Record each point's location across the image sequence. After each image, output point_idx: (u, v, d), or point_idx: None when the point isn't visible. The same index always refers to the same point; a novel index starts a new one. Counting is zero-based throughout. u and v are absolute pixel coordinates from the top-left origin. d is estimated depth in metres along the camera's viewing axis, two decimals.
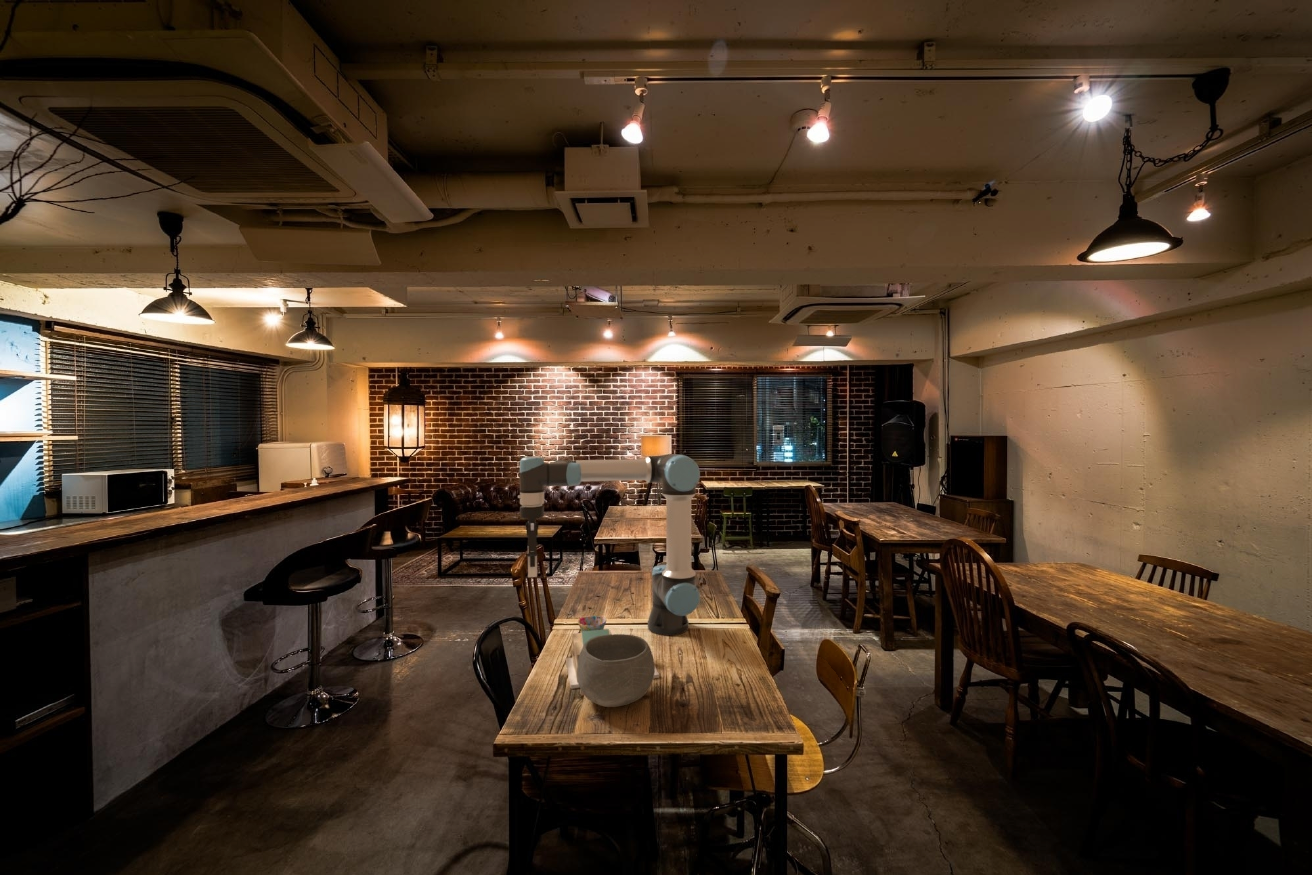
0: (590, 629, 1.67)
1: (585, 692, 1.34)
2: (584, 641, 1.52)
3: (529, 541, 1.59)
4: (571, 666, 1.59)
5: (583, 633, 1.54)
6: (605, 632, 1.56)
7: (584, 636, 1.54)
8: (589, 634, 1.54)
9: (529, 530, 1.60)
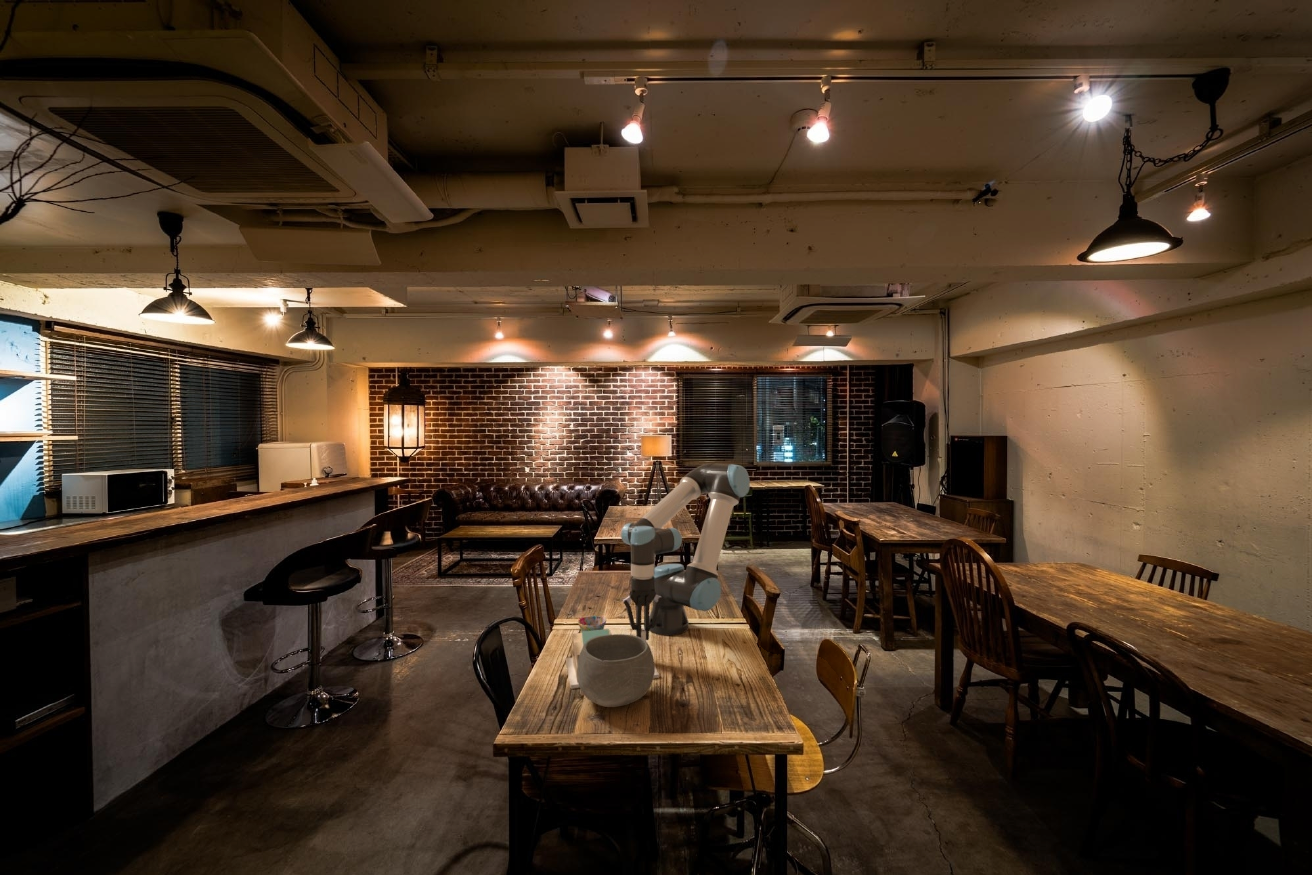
0: (590, 629, 1.67)
1: (585, 692, 1.34)
2: (584, 641, 1.52)
3: (628, 615, 1.64)
4: (571, 666, 1.59)
5: (583, 633, 1.54)
6: (605, 632, 1.56)
7: (584, 636, 1.54)
8: (589, 634, 1.54)
9: None
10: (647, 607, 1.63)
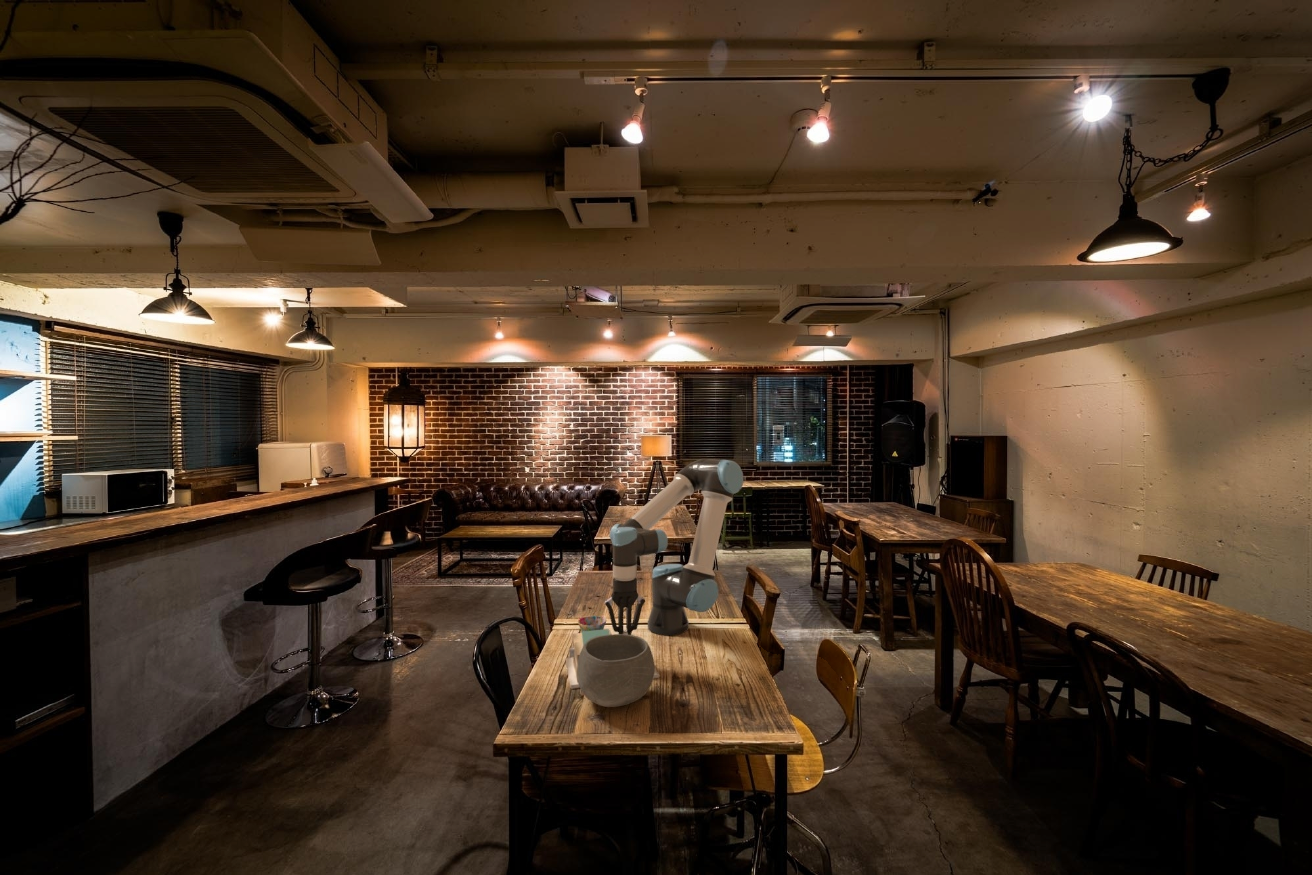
0: (590, 629, 1.67)
1: (585, 692, 1.34)
2: (584, 641, 1.52)
3: (610, 617, 1.63)
4: (571, 666, 1.59)
5: (583, 633, 1.54)
6: (605, 632, 1.56)
7: (584, 636, 1.54)
8: (589, 634, 1.54)
9: None
10: (629, 609, 1.62)
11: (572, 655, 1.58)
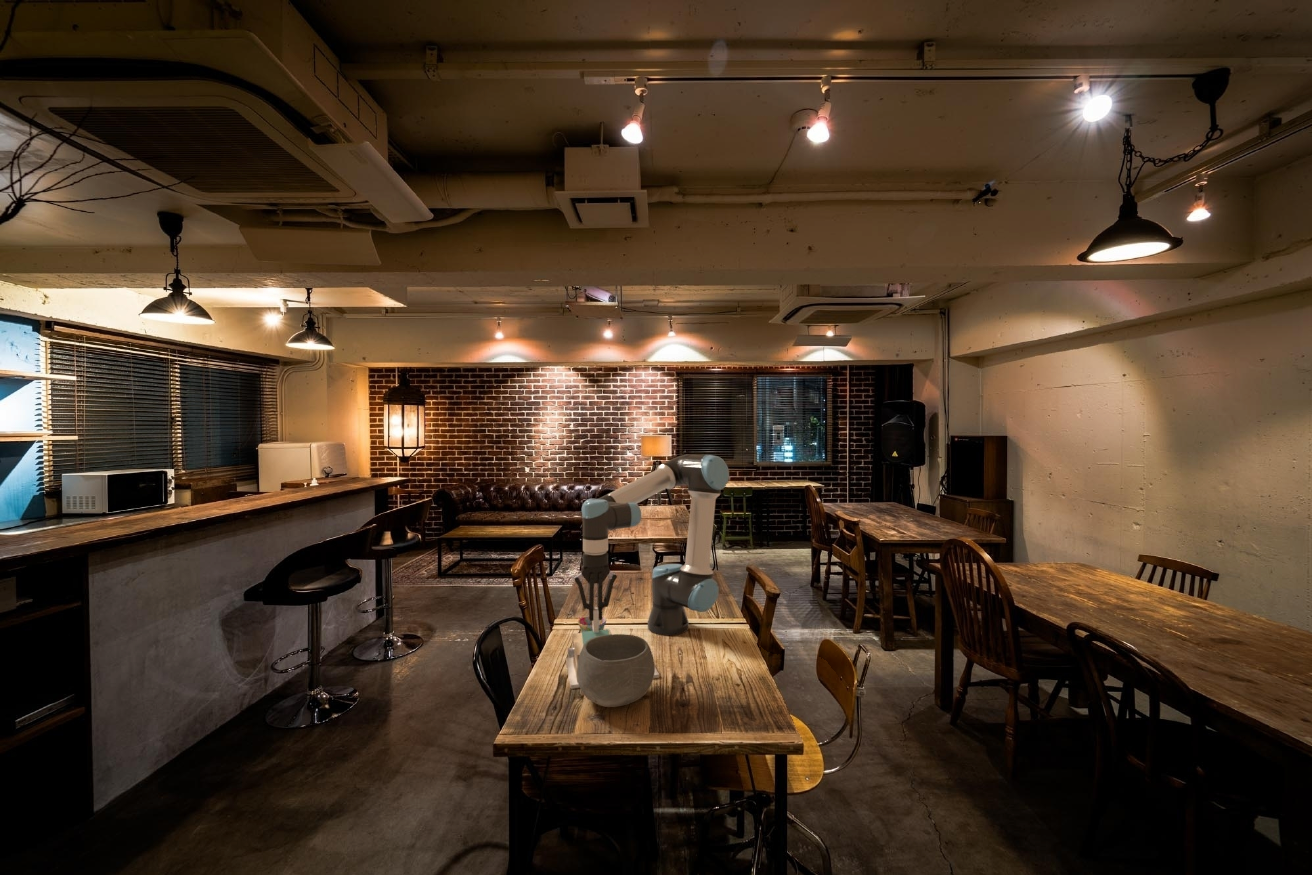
0: (590, 629, 1.67)
1: (585, 692, 1.34)
2: (584, 641, 1.52)
3: None
4: (571, 666, 1.59)
5: (583, 633, 1.54)
6: (605, 632, 1.56)
7: (584, 636, 1.54)
8: (589, 634, 1.54)
9: None
10: (600, 585, 1.54)
11: (571, 655, 1.58)
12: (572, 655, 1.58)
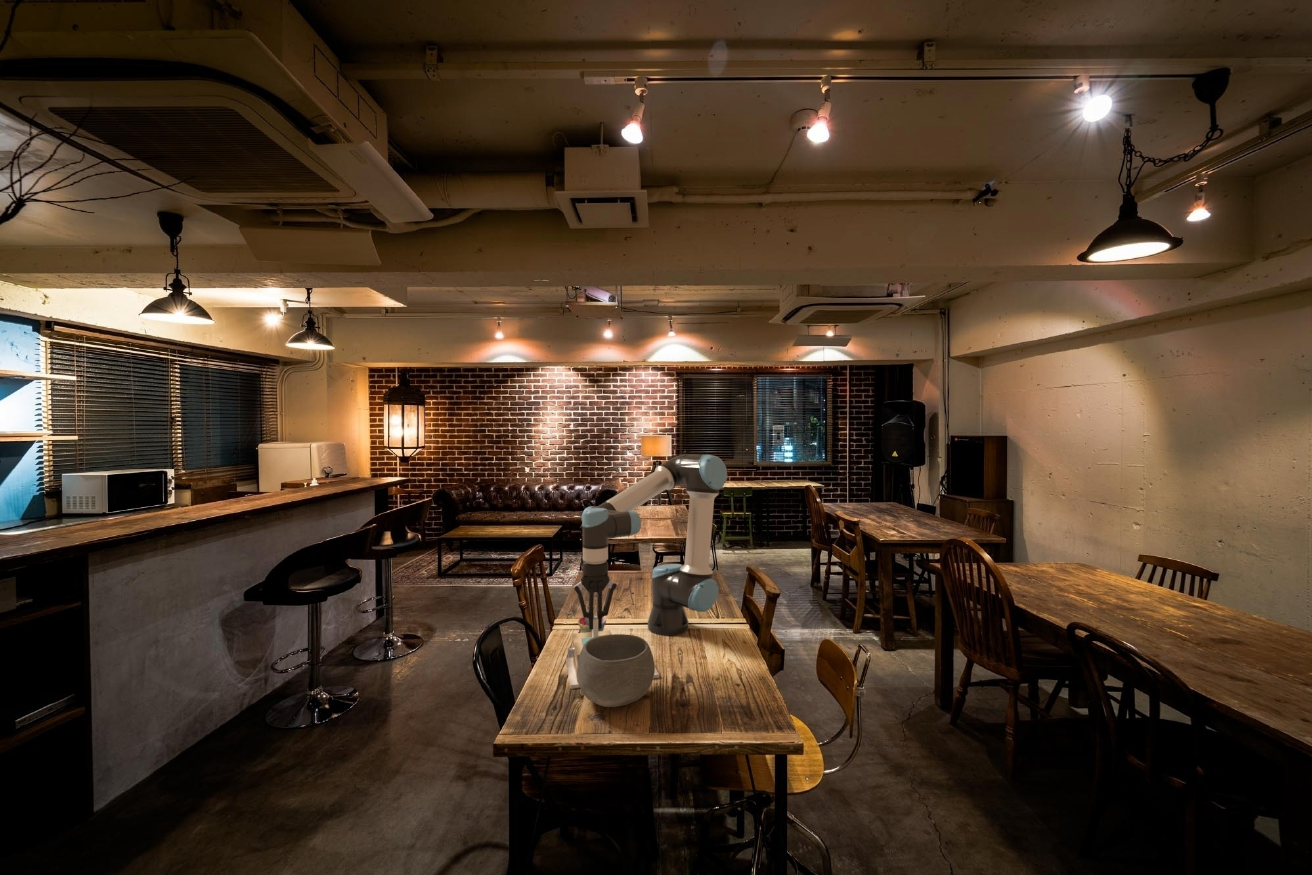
0: None
1: (585, 692, 1.34)
2: (584, 643, 1.53)
3: None
4: (571, 666, 1.59)
5: (583, 639, 1.56)
6: None
7: (584, 641, 1.55)
8: None
9: None
10: (599, 593, 1.54)
11: (571, 655, 1.58)
12: (572, 655, 1.58)
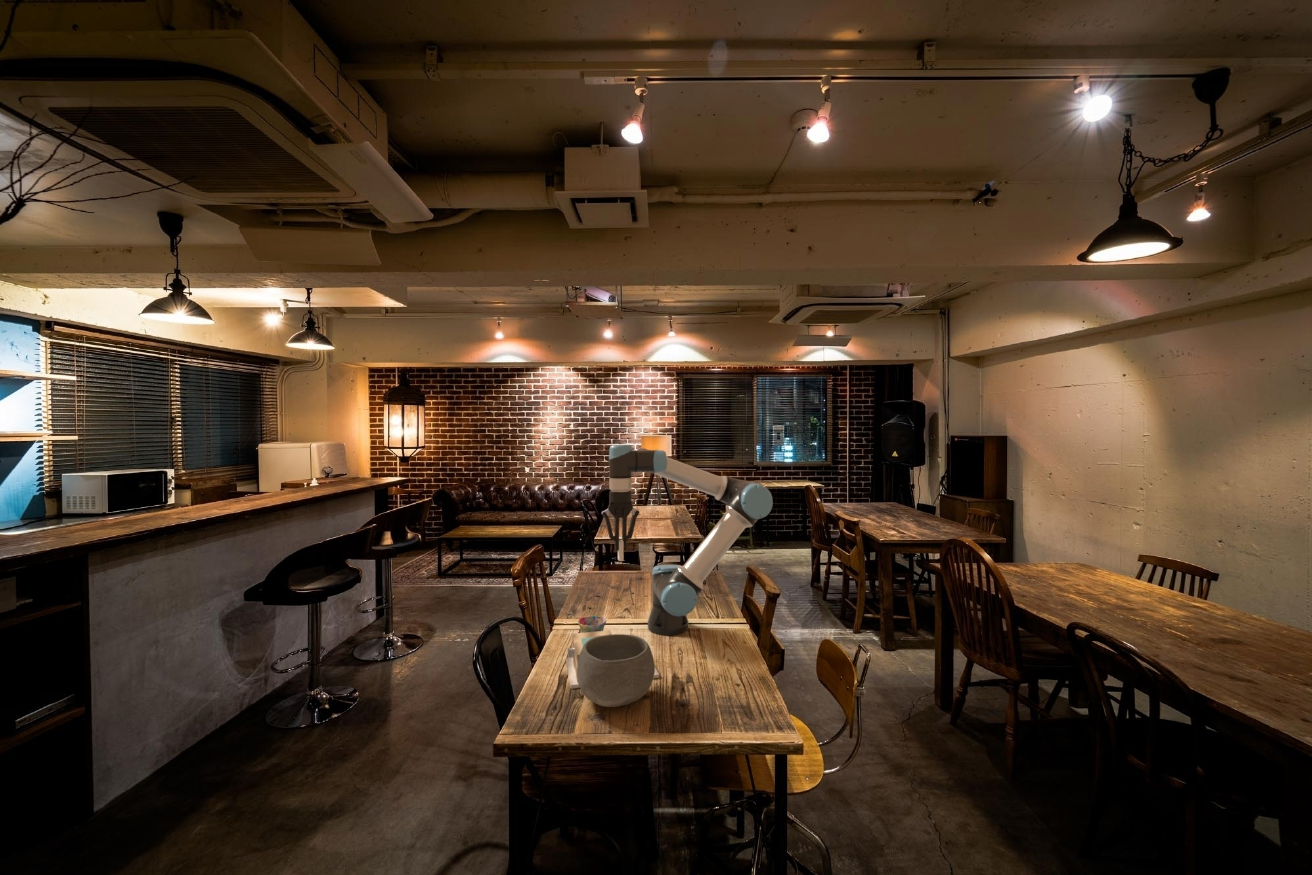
0: (590, 629, 1.67)
1: (585, 692, 1.34)
2: (584, 643, 1.53)
3: None
4: (571, 666, 1.59)
5: (583, 639, 1.56)
6: None
7: (584, 641, 1.55)
8: None
9: None
10: (624, 519, 1.74)
11: (571, 655, 1.58)
12: (572, 655, 1.58)
